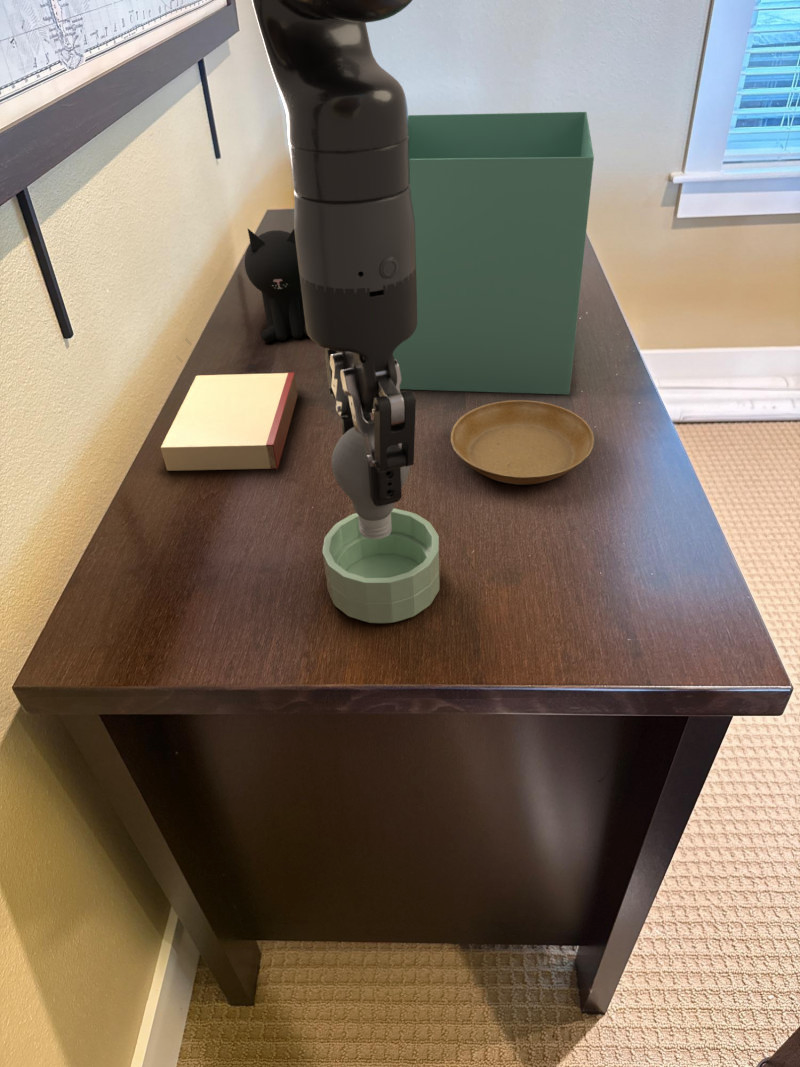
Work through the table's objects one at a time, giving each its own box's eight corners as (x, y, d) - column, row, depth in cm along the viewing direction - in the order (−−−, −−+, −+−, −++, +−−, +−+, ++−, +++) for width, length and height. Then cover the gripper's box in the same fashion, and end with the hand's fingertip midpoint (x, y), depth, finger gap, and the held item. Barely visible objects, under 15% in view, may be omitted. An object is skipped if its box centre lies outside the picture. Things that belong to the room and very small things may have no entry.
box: (566, 321, 107) (586, 111, 91) (569, 394, 92) (593, 157, 75) (401, 318, 111) (391, 115, 94) (376, 388, 95) (359, 159, 78)
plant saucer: (584, 506, 75) (587, 484, 73) (436, 487, 78) (435, 466, 77) (597, 427, 86) (599, 406, 84) (466, 414, 89) (466, 394, 88)
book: (277, 469, 82) (273, 444, 80) (167, 471, 83) (160, 447, 81) (297, 395, 95) (294, 372, 93) (201, 397, 95) (196, 374, 93)
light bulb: (327, 548, 62) (314, 442, 56) (357, 506, 66) (349, 403, 60) (396, 564, 60) (390, 456, 54) (423, 520, 65) (420, 415, 58)
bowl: (347, 640, 62) (342, 595, 59) (316, 567, 70) (309, 524, 66) (457, 608, 65) (457, 563, 62) (416, 540, 72) (414, 497, 69)
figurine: (252, 358, 103) (231, 244, 94) (258, 315, 114) (240, 209, 104) (372, 348, 103) (363, 234, 94) (367, 307, 114) (358, 201, 105)
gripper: (274, 236, 54) (301, 442, 64) (332, 313, 43) (354, 545, 54) (376, 221, 56) (387, 424, 66) (456, 291, 45) (453, 519, 55)
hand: (372, 477), depth 60 cm, fingers closed on light bulb, 6 cm apart
